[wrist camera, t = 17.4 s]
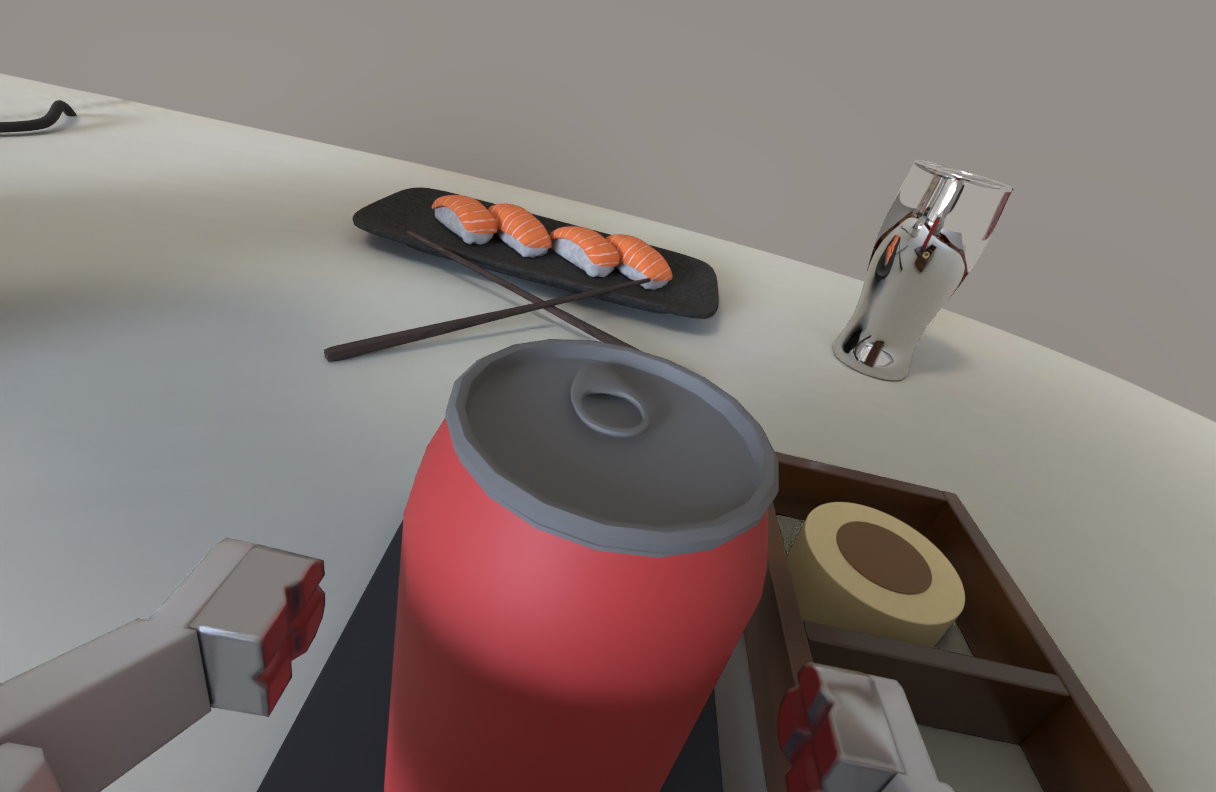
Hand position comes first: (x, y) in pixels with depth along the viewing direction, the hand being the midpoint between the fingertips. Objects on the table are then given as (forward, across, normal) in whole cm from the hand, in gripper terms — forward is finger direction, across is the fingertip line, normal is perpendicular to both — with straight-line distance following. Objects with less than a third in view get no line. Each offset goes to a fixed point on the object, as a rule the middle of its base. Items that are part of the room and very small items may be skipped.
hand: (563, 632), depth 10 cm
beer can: (+2, 0, +9) cm, 9 cm away
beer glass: (+39, -22, +9) cm, 45 cm away
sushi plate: (+35, +6, +9) cm, 37 cm away
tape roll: (+12, -13, +9) cm, 20 cm away
